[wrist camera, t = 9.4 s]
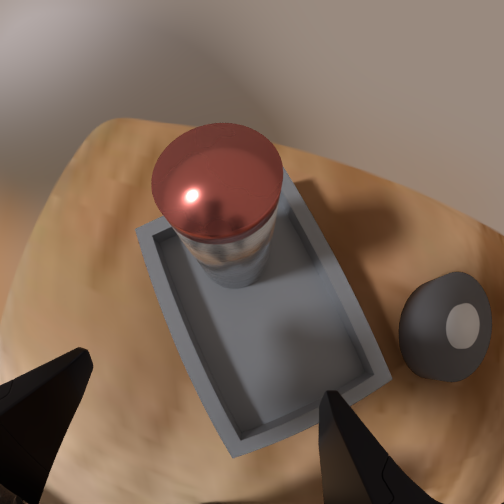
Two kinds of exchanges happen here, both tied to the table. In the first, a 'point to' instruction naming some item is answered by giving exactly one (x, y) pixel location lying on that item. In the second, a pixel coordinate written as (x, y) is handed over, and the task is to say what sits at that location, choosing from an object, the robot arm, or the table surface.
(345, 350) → the tray
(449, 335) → the trolley wheel
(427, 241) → the table surface
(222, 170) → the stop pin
